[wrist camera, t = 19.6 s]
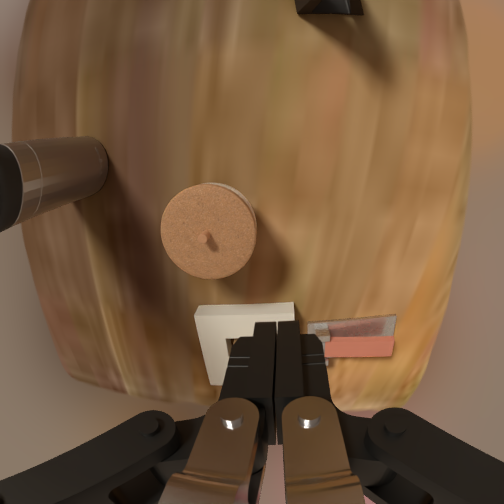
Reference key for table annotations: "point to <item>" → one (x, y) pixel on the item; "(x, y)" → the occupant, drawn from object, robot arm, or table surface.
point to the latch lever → (359, 346)
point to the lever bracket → (353, 327)
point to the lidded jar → (209, 230)
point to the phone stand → (329, 7)
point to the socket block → (232, 330)
